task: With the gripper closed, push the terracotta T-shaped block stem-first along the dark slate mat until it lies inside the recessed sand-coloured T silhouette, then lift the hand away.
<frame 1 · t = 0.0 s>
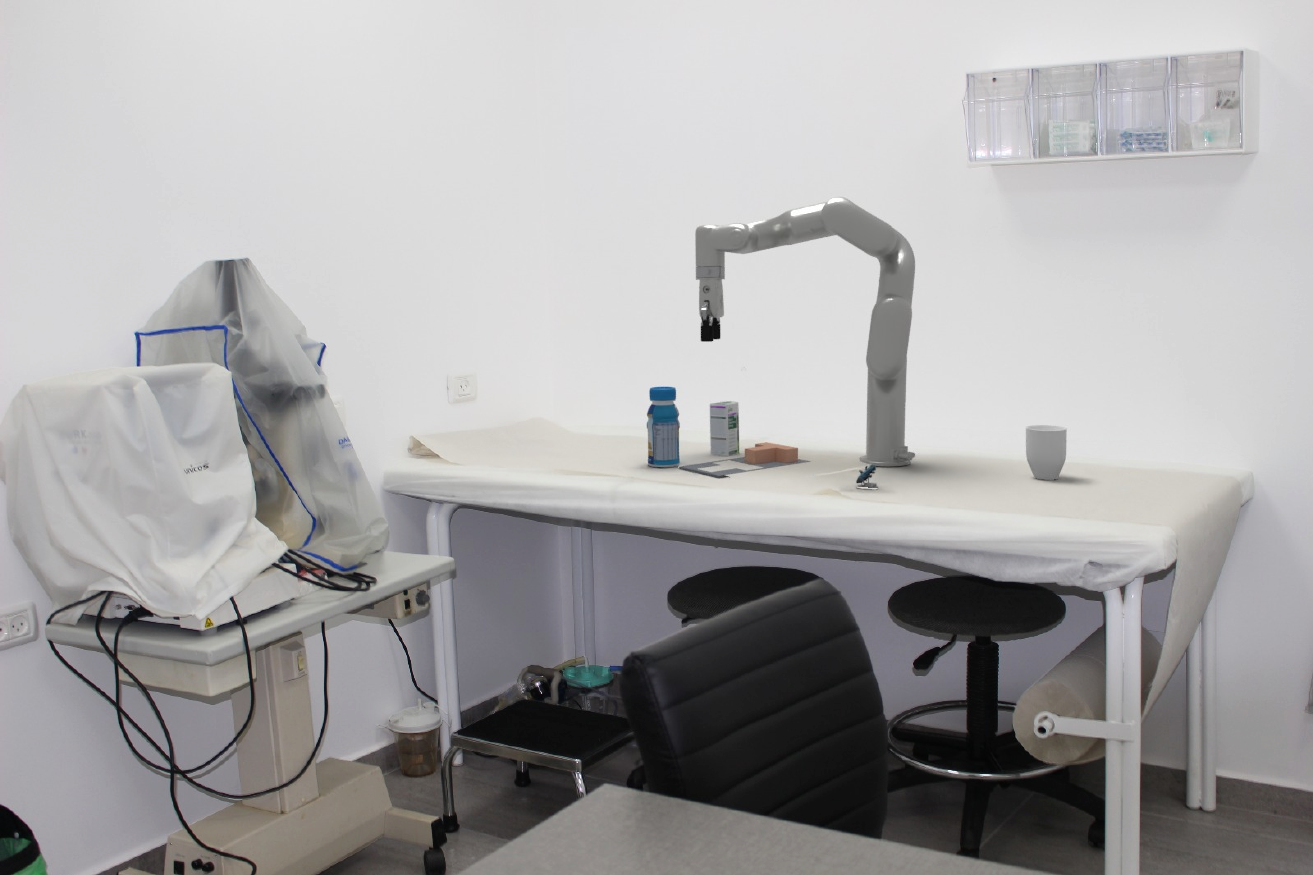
hand: (710, 340, 265), 31 cm above the table, tool pointing down, fingers open, 9 cm apart
mat: (745, 466, 257), on the table
mug: (1043, 477, 238), on the table
tee: (776, 459, 263), point 1 cm above the table, touching mat
beverage bottle: (663, 466, 261), on the table
sculpture: (867, 491, 228), on the table
syrup box: (724, 456, 273), on the table
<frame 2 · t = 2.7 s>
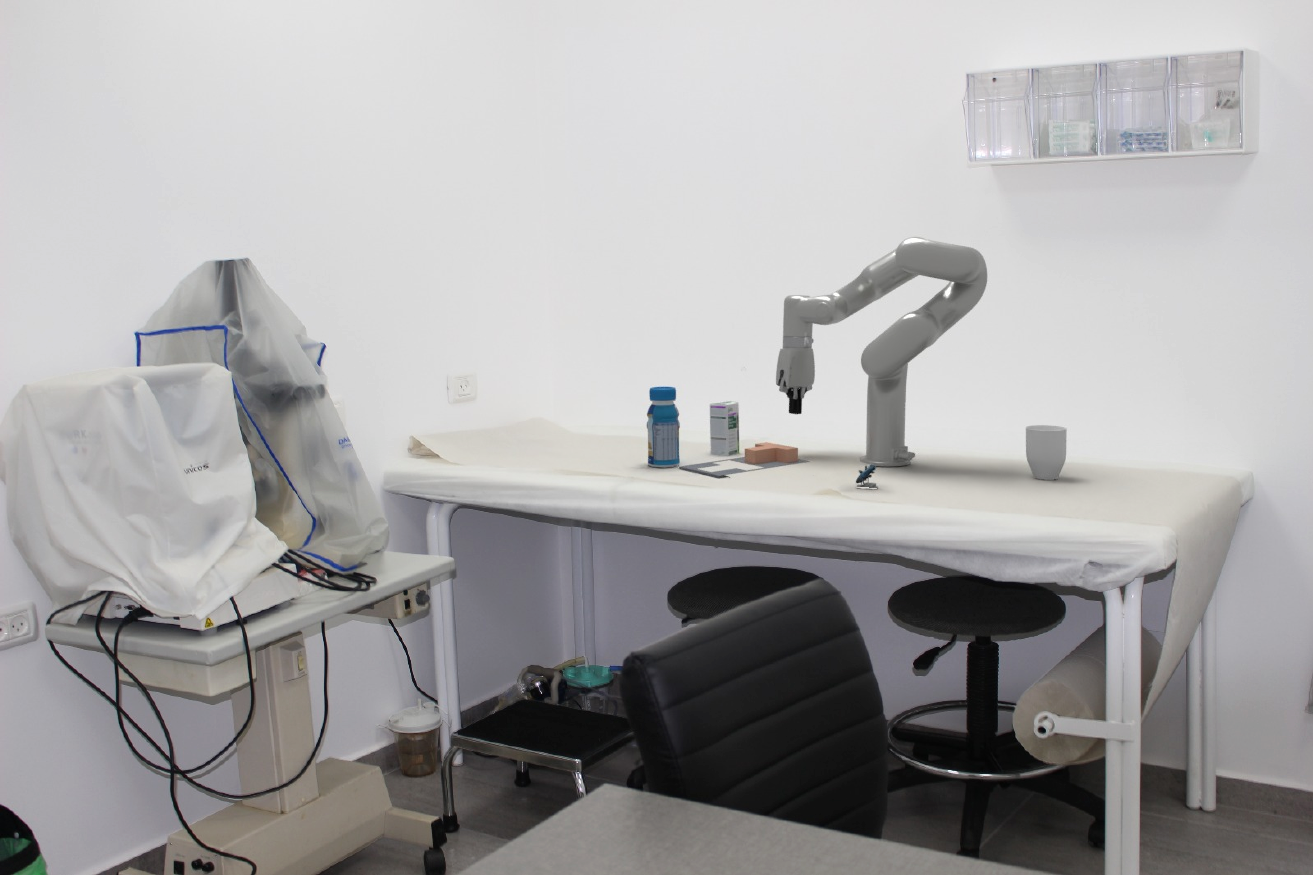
hand: (795, 413, 266), 12 cm above the table, tool pointing down, fingers closed
nothing on the table moved.
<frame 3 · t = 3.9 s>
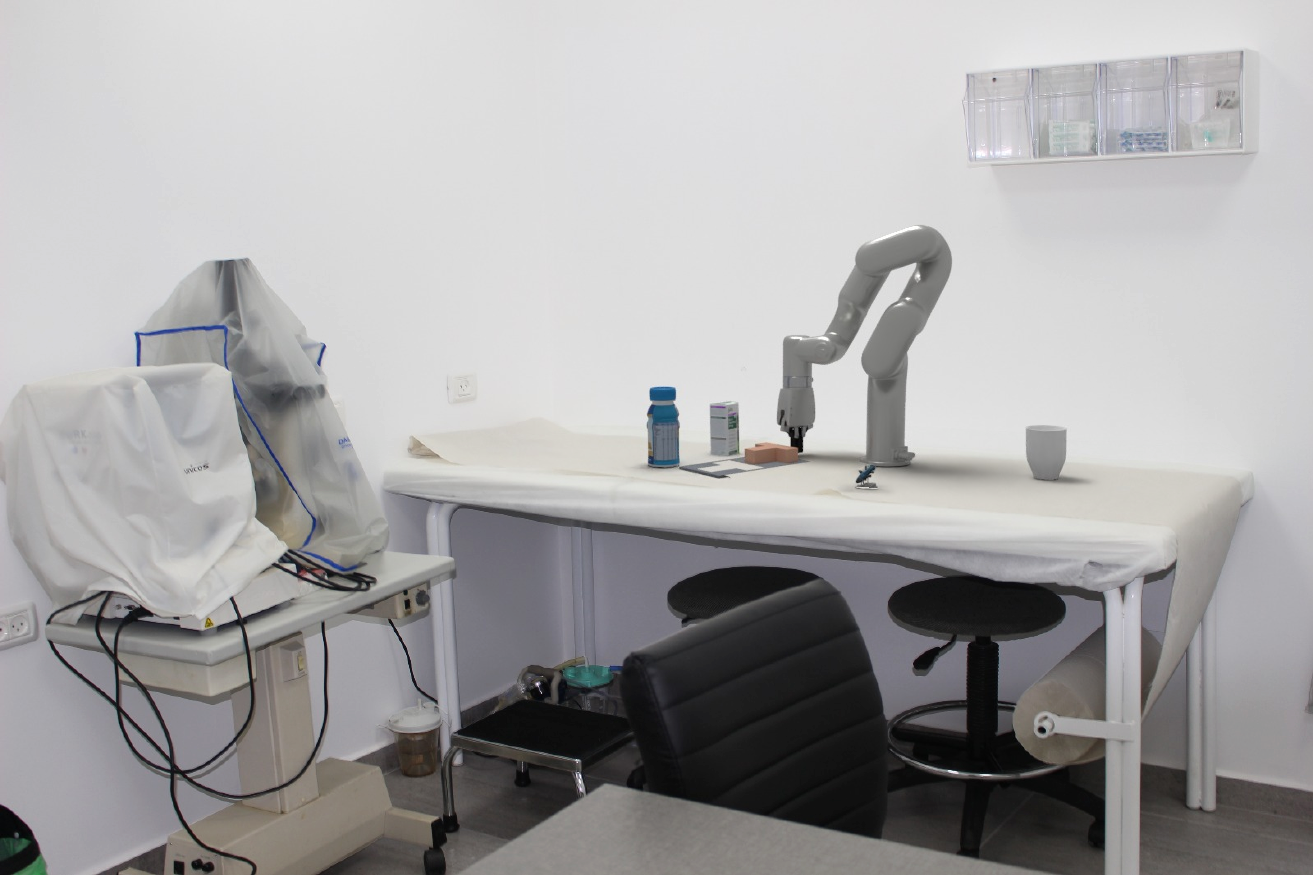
hand: (796, 452, 267), 2 cm above the table, tool pointing down, fingers closed
nothing on the table moved.
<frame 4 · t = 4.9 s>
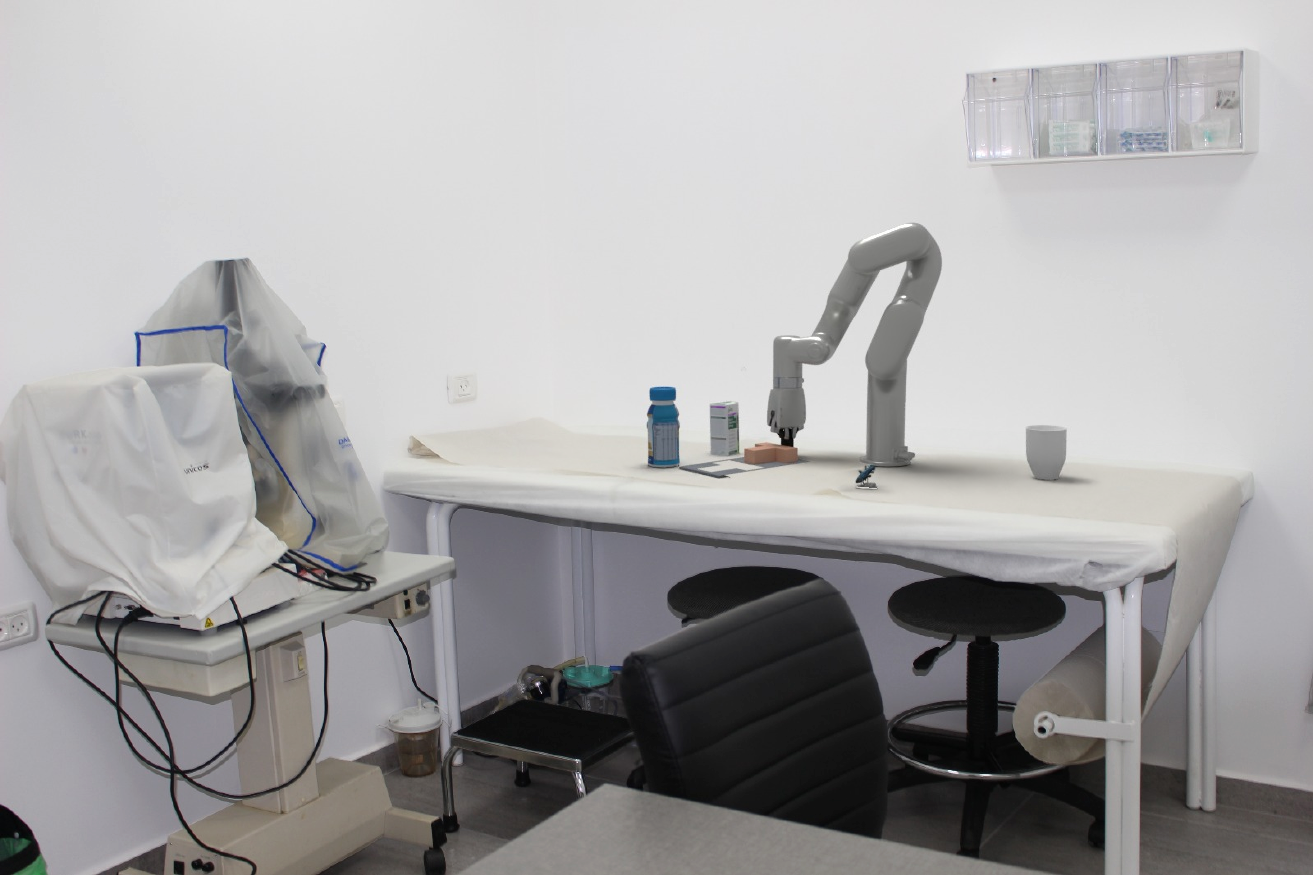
hand: (787, 453, 266), 2 cm above the table, tool pointing down, fingers closed
tee: (775, 459, 263), point 1 cm above the table, touching gripper
everything else where it was.
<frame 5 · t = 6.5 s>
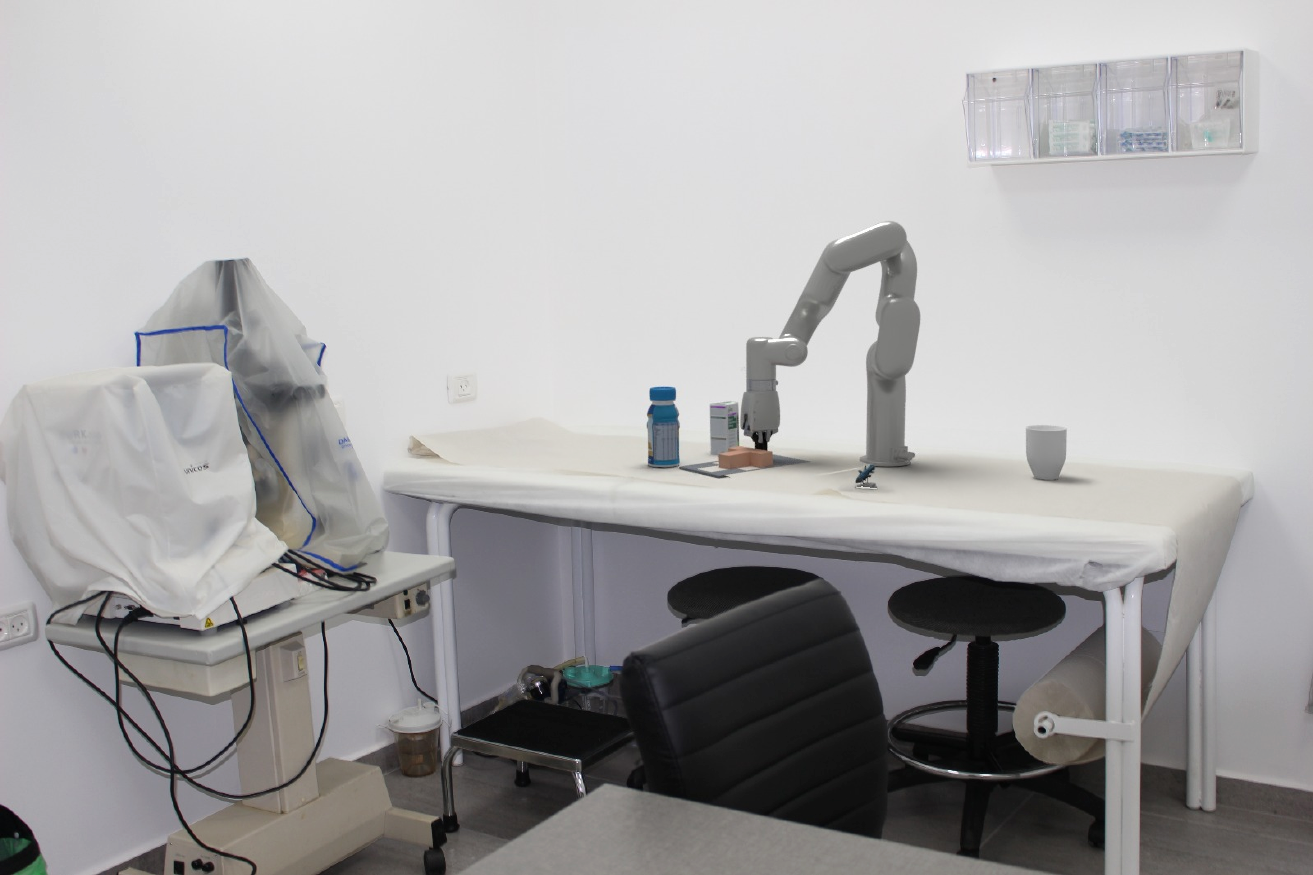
hand: (761, 457, 260), 2 cm above the table, tool pointing down, fingers closed
tee: (750, 463, 258), point 1 cm above the table, touching gripper, mat
everything else where it was.
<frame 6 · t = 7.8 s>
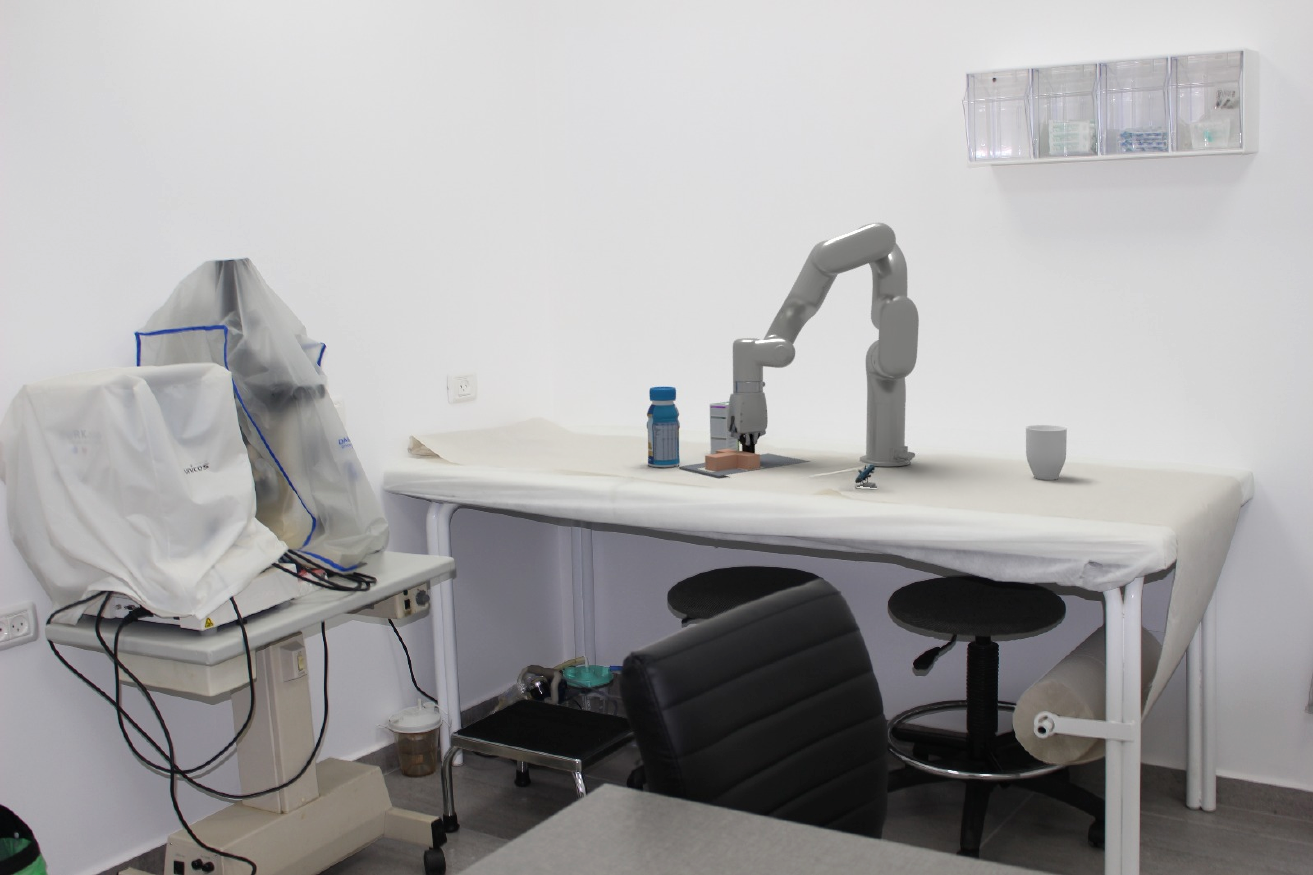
hand: (748, 459, 258), 2 cm above the table, tool pointing down, fingers closed
tee: (737, 466, 255), resting on mat, touching gripper
everything else where it was.
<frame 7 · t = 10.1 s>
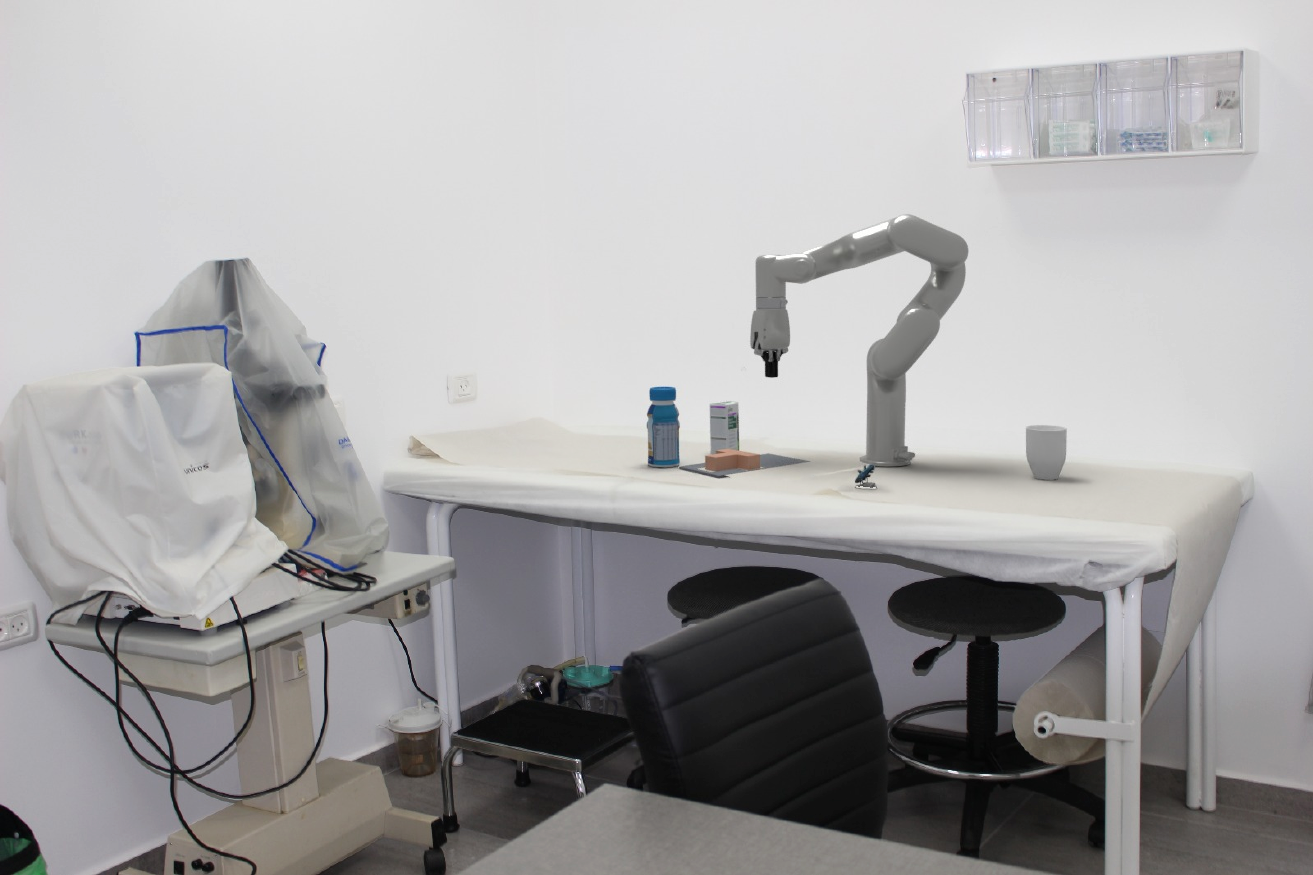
hand: (771, 376, 259), 22 cm above the table, tool pointing down, fingers closed
tee: (737, 466, 255), resting on mat
everything else where it was.
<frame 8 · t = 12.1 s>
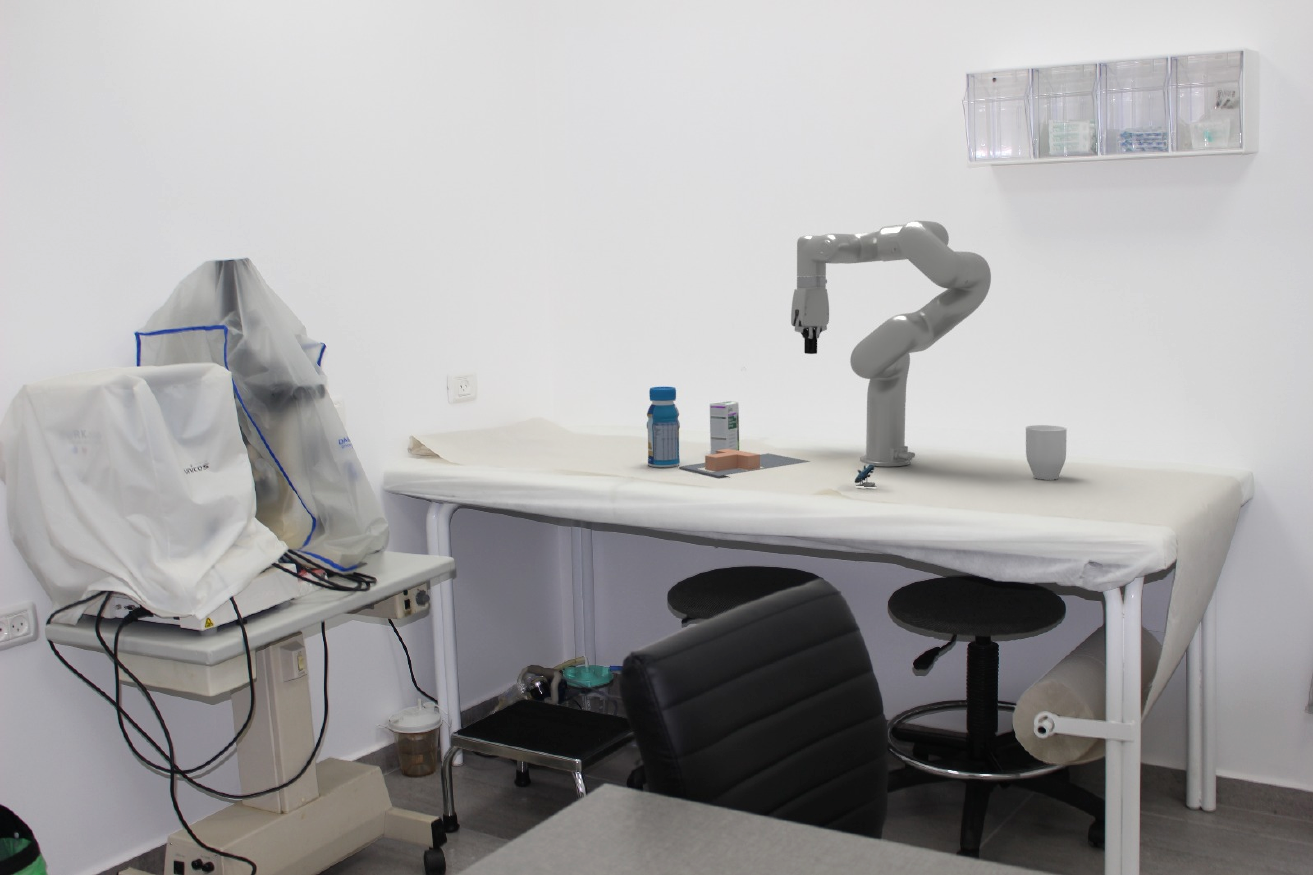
hand: (810, 353, 270), 27 cm above the table, tool pointing down, fingers closed
nothing on the table moved.
at the end: tee 0.6 cm from the target spot on the mat, point 0.4 cm above the mat's base; tee tilted 0° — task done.
